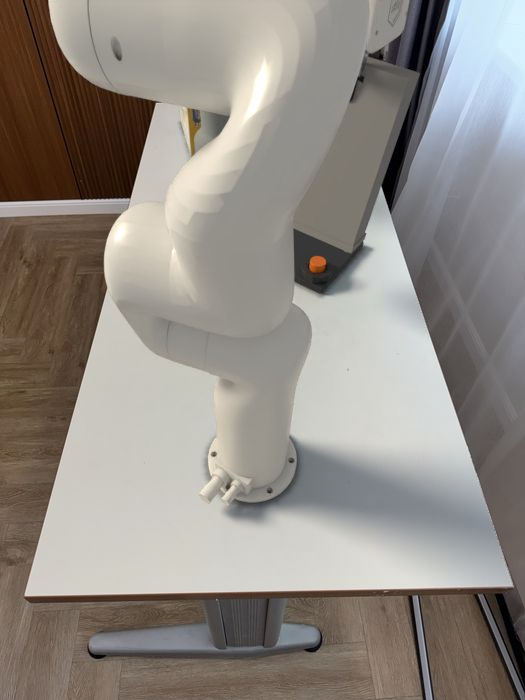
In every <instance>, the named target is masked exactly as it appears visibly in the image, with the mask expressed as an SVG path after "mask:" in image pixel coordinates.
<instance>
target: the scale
mask: <svg viewBox="0 0 525 700" xmlns="http://www.w3.org/2000/svg"><path fill="white" fill-rule="evenodd" d="M293 238H294V283H295V284H296V283H297V284H298V285H300V286H303V287H304V288H307V289H309V290H310V291H314V292H315V293H317V294H318V295H322V294H323V293H324V292H326V290H327V289H328V287H329V286H330V285H332V283H333V282H334V281H335V279H336V278H337V277H338V276H339V275H340V274H341V273H342V272H343V270H344V269H345V268H346V267H347V266H348V265H349V264H350V263H351V262H352V260H353V259H354V258H355V257H356V255H357V254H358V253H359V252H360V251H362V249H363V246H364V241H365V240H364V241H363V242H362V243H361V244H360V245H359V246H358V247H357V248H356V249H355V250H354V251H353V252H352V253H347V252H344V250H342V249H340V248H337V247H335V246H333V245H330V244H328V243H326V242H324V241H321V240H319V239H317V238H314V237H312V236H310V235H308V234H305V233H303V232H301V231H299V230H296V229H294V228H293ZM314 256H321V257H323V258H324V259H325V260H326V267H325V271H324V272H322V273H314V272H312V271H310V269H309V265H310V259H311V258H312V257H314Z"/></svg>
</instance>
